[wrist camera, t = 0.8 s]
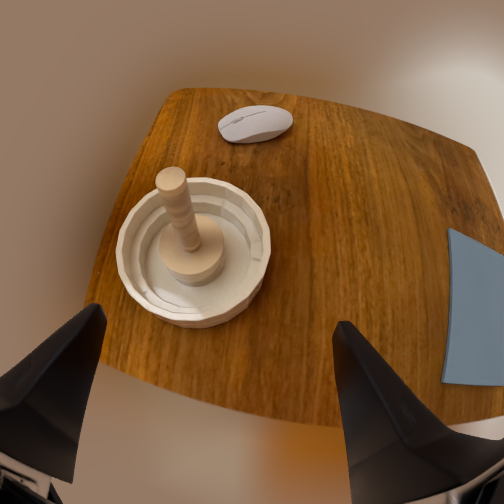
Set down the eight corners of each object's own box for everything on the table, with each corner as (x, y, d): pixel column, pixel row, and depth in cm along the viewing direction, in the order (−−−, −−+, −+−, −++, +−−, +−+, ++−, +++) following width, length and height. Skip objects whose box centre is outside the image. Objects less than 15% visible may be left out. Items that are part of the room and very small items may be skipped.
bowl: (241, 348, 23) (242, 344, 19) (113, 300, 24) (92, 286, 20) (279, 223, 28) (286, 198, 24) (165, 192, 29) (157, 166, 25)
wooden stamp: (213, 295, 24) (195, 231, 13) (158, 276, 25) (108, 206, 14) (233, 241, 27) (232, 154, 16) (181, 226, 27) (153, 139, 16)
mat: (501, 386, 21) (504, 385, 20) (440, 382, 22) (443, 382, 21) (502, 258, 29) (505, 256, 28) (447, 229, 30) (449, 227, 29)
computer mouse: (214, 122, 34) (213, 106, 32) (281, 112, 36) (283, 97, 33) (225, 150, 32) (224, 132, 30) (297, 138, 34) (301, 121, 31)
